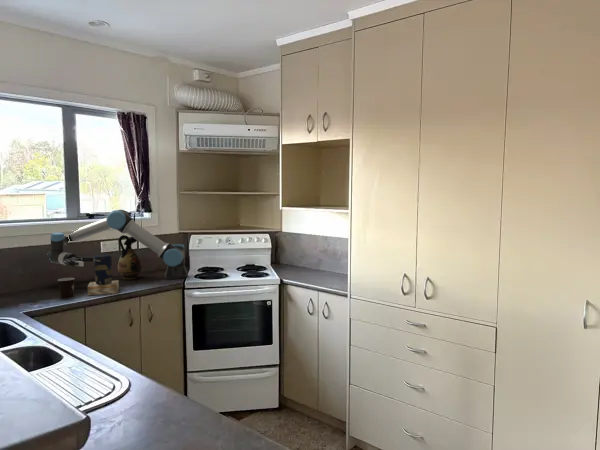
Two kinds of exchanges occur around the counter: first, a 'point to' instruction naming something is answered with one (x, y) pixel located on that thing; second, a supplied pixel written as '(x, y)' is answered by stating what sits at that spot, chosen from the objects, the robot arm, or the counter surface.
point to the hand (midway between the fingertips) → (92, 262)
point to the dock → (103, 288)
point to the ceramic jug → (128, 260)
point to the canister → (103, 269)
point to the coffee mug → (66, 287)
